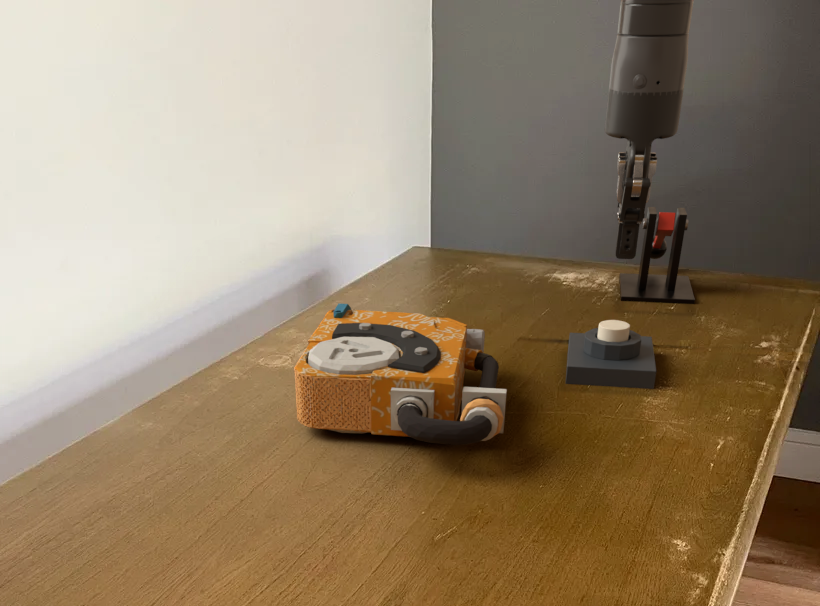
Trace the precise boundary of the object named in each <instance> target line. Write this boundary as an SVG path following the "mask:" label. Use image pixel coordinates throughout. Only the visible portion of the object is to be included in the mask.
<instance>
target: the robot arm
mask: <svg viewBox="0 0 820 606" xmlns="http://www.w3.org/2000/svg"><path fill="white" fill-rule="evenodd" d="M694 2H695V0H620V4H619V13H618V22H617V30H616V33H617V35H616V39H615V44H614V50H613V53H612V59H611V65H610V74H609V83H608V93H607V94H608V95H607V105H606V113H605V122H604V132H605V134H606V135H608V136H609V137H612V138H615V139H626V140H627V141H626V147H625V148H626V149H625V152H624V151H619V152H618V155H617V163H616V167H617V174H618V176H617V183H616V201H617V208H618V211H617V214H616V218H617V222H618V226H617V234H616V242H615V250H614V251H615V257H616V259H619V260H633V259H634V258H635V257H636V256H637V255H636V254H637V249H638V240H639V233H640V225H641V224H642V223H643V220H644V218H645V216H646V214H645V210H646V205H647V204H648V203H649V201H650V198H651V197H650V196H651V191H652V190H651V189H652V182H653V177H654V176H655V174H656V171H657V164H658V156H657V152H652V143H653V142H654V141H655V140H664V139H668V138H672V137H674V136H675V135H676V134H677V133H678V130H679V126H680V125H679V123H680V117H681V112H682V111H681V109H682V103H683V97H684V90H685V84H686V83H685V81H686V76H687V68H688V62H689V61H688V60H689V36H690V34H689V33H690V29H691V22H692V16H693V8H694Z"/></svg>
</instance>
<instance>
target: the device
mask: <svg viewBox="0 0 820 606" xmlns="http://www.w3.org/2000/svg"><path fill="white" fill-rule="evenodd" d="M485 333H486V332H485V330H484V329H479V328H468V324H467V323H463V322H461V321H459V320H455V319H453V318H451V317H436V316H427V315H425V314H423V313H419V312H418V313H416V312H415V313H414V312H399V311H383V310H381V311H380V310H366V309H365V310H364V309H363V310H361V309H354V311H353V310H352V307H351V306H350V304H349V303H341V302H340V303H337V305H336V306H335V308H334V309H329V310H328V311H327V312H326V313H325V315H324V317H323V319H322V320H321V321H320V323H319V324H318V326H317V328H316V329H315V330H314V331H313V333H312V334H311V336H310V337H309V339H308V340H307V346H306V348H305V349H304V351H303V353H302V354H301V356H300V357H299V359H298V360H297V362H296V363H295V366H294V367H293V368H294V369H293V370H294V371H293V372H294V385H295V386H294V387H295V404H296V420H297V421H298V422H299V423H300V424H301V425H302V426H305V427H307V428H309V429H319V430H328V431H331V432H337V433H341V434H367V433H371V435H378V436H393V437H409V438H411V439H414V440H416V441H421V442H425V443H431V444H440V445H451V446H466V445H471V444H476V443H480V442H487V441H488V440H491V439H492V438H494V437H495V436H496V435H498V434H504V429H505V418H506V417H505V416H506V405H507V404H506V403H507V392H508V389H507V388H497V382H498V375H499V369H500V365H499V362H498V361H497V360H496V358H495V357H494V356H492V355H491V354H488V353H485V352H484V351H485V338H486V336H485V335H486V334H485ZM466 370H467V371H473V372H478V371H480V372H481V377H480V381H479V386H478V387H477V386H464V380H465V374H466ZM460 409H461V415H460ZM459 417H460V419H459ZM458 419H459V420H458Z"/></svg>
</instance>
